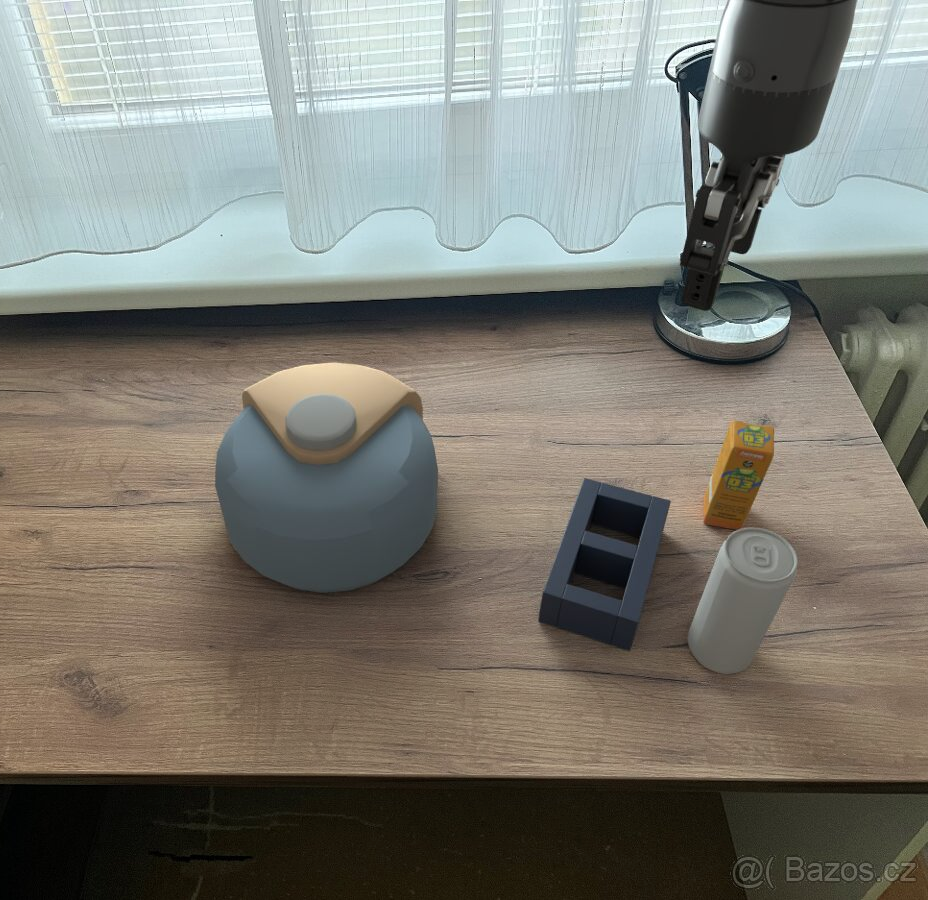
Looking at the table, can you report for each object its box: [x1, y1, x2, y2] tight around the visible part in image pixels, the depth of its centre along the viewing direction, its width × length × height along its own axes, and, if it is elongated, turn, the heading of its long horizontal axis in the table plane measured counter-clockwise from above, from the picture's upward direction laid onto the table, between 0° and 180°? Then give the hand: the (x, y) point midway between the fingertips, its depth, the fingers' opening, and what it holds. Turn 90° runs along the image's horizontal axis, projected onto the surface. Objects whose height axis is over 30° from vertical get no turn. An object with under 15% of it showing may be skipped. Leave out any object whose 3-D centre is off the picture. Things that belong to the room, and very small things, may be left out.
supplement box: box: [702, 419, 775, 531], centre depth 72 cm, size 3×3×10 cm
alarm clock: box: [214, 362, 439, 594], centre depth 76 cm, size 19×20×12 cm
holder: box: [538, 477, 672, 652], centre depth 71 cm, size 7×13×4 cm, turn 154°
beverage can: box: [686, 527, 799, 675], centre depth 63 cm, size 5×5×12 cm
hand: (715, 276), depth 67 cm, fingers open, 8 cm apart
